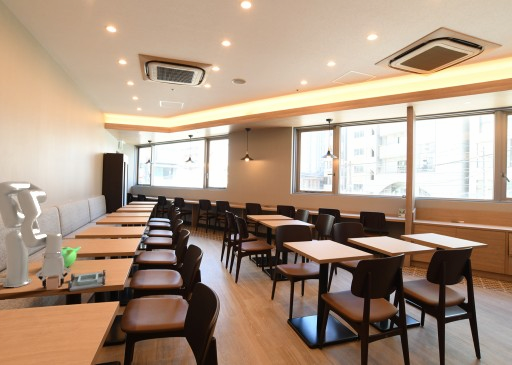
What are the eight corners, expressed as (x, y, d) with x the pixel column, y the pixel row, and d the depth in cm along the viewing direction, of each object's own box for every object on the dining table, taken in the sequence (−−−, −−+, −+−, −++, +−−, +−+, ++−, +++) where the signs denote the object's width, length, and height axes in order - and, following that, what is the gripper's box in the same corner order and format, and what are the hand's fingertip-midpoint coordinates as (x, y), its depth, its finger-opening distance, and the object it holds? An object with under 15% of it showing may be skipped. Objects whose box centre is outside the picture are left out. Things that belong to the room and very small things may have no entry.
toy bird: (54, 264, 196) (54, 243, 196) (81, 262, 201) (81, 242, 201) (43, 272, 179) (43, 250, 179) (73, 270, 184) (73, 248, 184)
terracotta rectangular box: (46, 290, 151) (46, 279, 151) (48, 285, 157) (49, 275, 157) (57, 288, 154) (57, 278, 154) (59, 284, 160) (59, 274, 160)
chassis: (67, 291, 150) (67, 283, 150) (72, 278, 169) (72, 271, 168) (104, 286, 159) (105, 278, 158) (105, 274, 177) (105, 268, 177)
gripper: (32, 258, 148) (32, 291, 148) (71, 255, 156) (70, 285, 156) (36, 255, 155) (35, 286, 155) (72, 251, 163) (72, 281, 163)
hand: (53, 285), depth 155 cm, fingers open, 7 cm apart
